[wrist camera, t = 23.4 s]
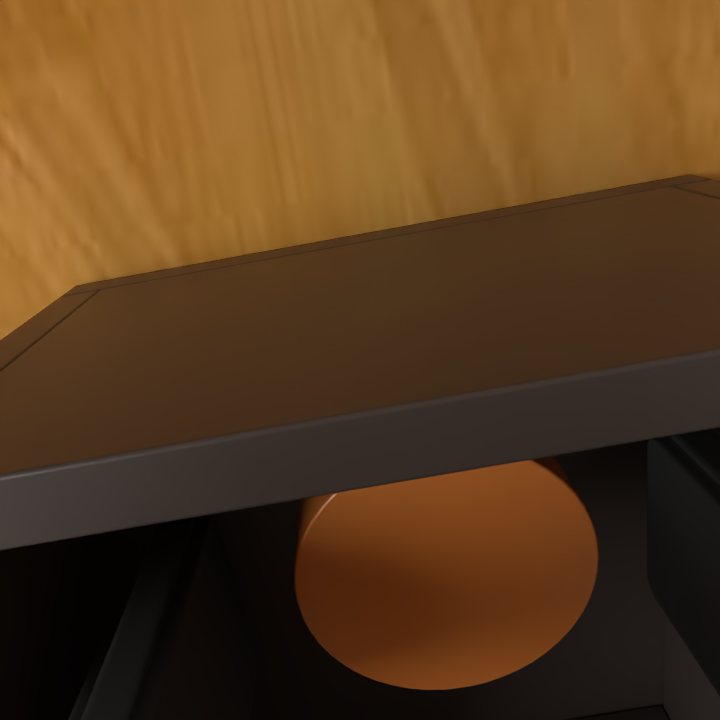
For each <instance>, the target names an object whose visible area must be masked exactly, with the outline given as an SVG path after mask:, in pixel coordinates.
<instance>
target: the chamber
mask: <svg viewBox="0 0 720 720" xmlns="http://www.w3.org/2000/svg"><path fill="white" fill-rule="evenodd" d="M708 429H711V430H712V431H713V432H714V433H716V434H717V435H718V436H719V437H720V181H715V180H711V179H709V178H704V177H699V176H694V175H684V176H679V177H673V178H668V179H662V180H657V181H651V182H646V183H640V184H635V185H629V186H624V187H618V188H613V189H607V190H602V191H596V192H591V193H585V194H580V195H574V196H569V197H563V198H558V199H552V200H547V201H541V202H536V203H530V204H525V205H519V206H514V207H508V208H503V209H497V210H492V211H486V212H480V213H475V214H469V215H464V216H458V217H453V218H447V219H442V220H436V221H431V222H425V223H420V224H414V225H409V226H403V227H398V228H392V229H387V230H381V231H376V232H370V233H365V234H359V235H354V236H348V237H343V238H337V239H332V240H326V241H321V242H315V243H310V244H304V245H299V246H293V247H287V248H282V249H276V250H271V251H265V252H260V253H254V254H249V255H243V256H238V257H232V258H227V259H221V260H216V261H210V262H205V263H199V264H194V265H188V266H183V267H177V268H172V269H166V270H161V271H155V272H150V273H144V274H139V275H133V276H128V277H122V278H117V279H111V280H106V281H100V282H94V283H89V284H83V285H78V286H75V287H74V288H73V289H71V290H70V291H68V292H67V293H66V294H64V295H63V296H61V297H60V298H59V299H57V300H56V301H54V302H53V303H52V304H50V305H49V306H48V307H46V308H45V309H43V310H42V311H41V312H39V313H38V314H36V315H35V316H34V317H32V318H31V319H30V320H28V321H27V322H25V323H24V324H23V325H21V326H20V327H18V328H17V329H16V330H14V331H13V332H12V333H10V334H9V335H7V336H6V337H5V338H3V339H2V340H0V720H68V719H69V717H70V714H71V712H72V710H73V707H74V705H75V702H76V700H77V698H78V695H79V693H80V690H81V688H82V686H83V683H84V681H85V679H86V676H87V674H88V671H89V669H90V667H91V664H92V662H93V659H94V657H95V655H96V652H97V650H98V648H99V645H100V643H101V640H102V638H103V636H104V633H105V631H106V628H107V626H108V624H109V622H110V620H111V618H112V616H113V615H114V613H115V612H117V611H118V610H119V609H124V608H125V607H126V605H127V602H128V600H129V597H130V595H131V592H132V590H133V587H134V585H135V582H136V580H137V577H138V575H139V572H140V570H141V567H142V565H143V562H144V560H145V557H146V555H147V552H148V550H149V547H150V545H151V542H152V540H153V537H154V535H155V532H156V530H157V527H158V525H159V523H164V522H169V521H175V520H181V519H187V518H193V517H199V516H204V515H205V517H209V516H214V517H215V518H216V520H217V522H218V525H219V528H220V531H221V534H222V537H223V541H224V544H225V547H226V550H227V553H228V556H229V559H230V562H231V566H232V569H233V572H234V575H235V578H236V581H237V584H238V588H239V591H240V594H241V597H242V600H243V603H244V606H245V609H246V613H247V616H248V619H249V622H250V625H251V628H252V631H253V634H254V638H255V641H256V646H257V660H258V661H257V672H256V680H255V688H254V696H253V703H252V711H251V719H250V720H720V696H719V695H718V693H717V692H716V690H715V689H714V687H713V686H712V684H711V683H710V681H709V679H708V678H707V676H706V675H705V673H704V672H703V670H702V669H701V667H700V666H699V664H698V663H697V661H696V660H695V658H694V657H693V655H692V654H691V652H690V651H689V649H688V648H687V646H686V645H685V643H684V641H683V640H682V638H681V637H680V635H679V634H678V632H677V631H676V629H675V628H674V626H673V625H672V623H671V622H670V620H669V619H668V617H667V616H666V614H665V613H664V611H663V610H662V608H661V607H660V605H659V603H658V602H657V600H656V599H655V597H654V595H653V593H652V591H651V589H650V586H649V582H648V578H647V446H648V442H649V440H651V439H655V438H661V437H667V436H673V435H678V434H684V433H690V432H696V431H702V430H708ZM550 456H554V457H555V458H556V460H557V461H558V463H559V464H560V466H561V468H562V469H563V471H564V472H565V474H566V476H567V477H568V479H569V480H570V482H571V484H572V485H573V487H574V488H575V490H576V491H577V493H578V495H579V496H580V498H581V499H582V501H583V503H584V504H585V506H586V508H587V510H588V512H589V514H590V516H591V518H592V520H593V523H594V527H595V530H596V534H597V539H598V547H599V564H598V573H597V578H596V583H595V587H594V589H593V592H592V595H591V597H590V600H589V602H588V604H587V606H586V608H585V609H584V611H583V613H582V615H581V616H580V618H579V619H578V620H577V622H576V623H575V625H574V626H573V627H572V629H571V630H570V631H569V632H568V633H567V634H566V635H565V636H564V637H563V638H562V639H561V641H560V642H558V643H557V644H556V645H555V646H554V647H553V648H551V649H550V650H549V651H548V652H547V653H545V654H544V655H542V656H541V657H539V658H538V659H537V660H535V661H534V662H532V663H530V664H529V665H527V666H525V667H523V668H521V669H519V670H517V671H515V672H513V673H511V674H508V675H506V676H504V677H501V678H499V679H496V680H492V681H489V682H486V683H483V684H478V685H474V686H469V687H464V688H456V689H447V690H422V689H409V688H404V687H398V686H393V685H389V684H386V683H382V682H379V681H375V680H373V679H371V678H368V677H366V676H363V675H361V674H359V673H357V672H355V671H353V670H352V669H350V668H348V667H346V666H345V665H343V664H342V663H341V662H339V661H338V660H337V659H335V658H334V657H332V656H331V655H330V654H329V653H328V652H327V651H326V650H325V649H324V648H323V647H322V646H321V645H320V644H319V642H318V641H317V640H316V639H315V637H314V636H313V635H312V633H311V632H310V630H309V628H308V627H307V625H306V623H305V621H304V619H303V618H302V615H301V612H300V610H299V607H298V604H297V600H296V595H295V589H294V561H295V548H296V536H297V523H298V510H299V499H304V498H310V497H316V496H322V495H327V494H333V493H339V492H345V491H351V490H357V489H362V488H368V487H374V486H380V485H386V484H392V483H398V482H403V481H409V480H415V479H421V478H427V477H433V476H439V475H444V474H450V473H456V472H462V471H468V470H474V469H479V468H485V467H491V466H497V465H503V464H509V463H515V462H520V461H526V460H532V459H538V458H544V457H550Z"/></svg>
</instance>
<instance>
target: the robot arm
mask: <svg viewBox="0 0 720 720" xmlns="http://www.w3.org/2000/svg"><path fill="white" fill-rule="evenodd" d="M647 578H648V582H649V586H650V589H651V591H652V593H653V595H654V597H655V599H656V600H657V602H658V603H659V605H660V607H661V608H662V610H663V611H664V613H665V614H666V616H667V617H668V619H669V620H670V622H671V623H672V625H673V626H674V628H675V629H676V631H677V632H678V634H679V635H680V637H681V638H682V640H683V641H684V643H685V645H686V646H687V648H688V649H689V651H690V652H691V654H692V655H693V657H694V658H695V660H696V661H697V663H698V664H699V666H700V667H701V669H702V670H703V672H704V673H705V675H706V676H707V678H708V679H709V681H710V683H711V684H712V686H713V687H714V689H715V690H716V692H717V693H718V695H719V696H720V437H719V436H718V435H717V434H716V433H714V432H713V431H712V430H711V429H708V430H702V431H696V432H690V433H684V434H678V435H673V436H667V437H661V438H655V439H651V440H649V442H648V446H647ZM257 661H258V660H257V646H256V641H255V638H254V634H253V631H252V628H251V625H250V622H249V619H248V616H247V613H246V609H245V606H244V603H243V600H242V597H241V594H240V591H239V588H238V584H237V581H236V578H235V575H234V572H233V569H232V566H231V562H230V559H229V556H228V553H227V550H226V547H225V544H224V541H223V537H222V534H221V531H220V528H219V525H218V522H217V520H216V518H215V517H214V516H209V517H205V515H204V516H199V517H193V518H187V519H181V520H175V521H169V522H164V523H159V525H158V527H157V530H156V532H155V535H154V537H153V540H152V542H151V545H150V547H149V550H148V552H147V555H146V557H145V560H144V562H143V565H142V567H141V570H140V572H139V575H138V577H137V580H136V582H135V585H134V587H133V590H132V592H131V595H130V597H129V600H128V602H127V605H126V607H125V608H124V609H119V610H118V611H117V612H115V613H114V615H113V616H112V618H111V620H110V622H109V624H108V626H107V628H106V631H105V633H104V636H103V638H102V640H101V643H100V645H99V648H98V650H97V652H96V655H95V657H94V659H93V662H92V664H91V667H90V669H89V671H88V674H87V676H86V679H85V681H84V683H83V686H82V688H81V690H80V693H79V695H78V698H77V700H76V702H75V705H74V707H73V710H72V712H71V714H70V717H69V719H68V720H250V719H251V711H252V703H253V696H254V688H255V680H256V672H257Z"/></svg>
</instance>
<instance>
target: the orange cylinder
mask: <svg viewBox="0 0 720 720" xmlns="http://www.w3.org/2000/svg"><path fill="white" fill-rule="evenodd" d="M598 564H599V547H598V539H597V534H596V530H595V527H594V523H593V520H592V518H591V516H590V514H589V512H588V510H587V508H586V506H585V504H584V503H583V501H582V499H581V498H580V496H579V495H578V493H577V491H576V490H575V488H574V487H573V485H572V484H571V482H570V480H569V479H568V477H567V476H566V474H565V472H564V471H563V469H562V468H561V466H560V464H559V463H558V461H557V460H556V458H555V457H554V456H550V457H544V458H538V459H532V460H526V461H520V462H515V463H509V464H503V465H497V466H491V467H485V468H479V469H474V470H468V471H462V472H456V473H450V474H444V475H439V476H433V477H427V478H421V479H415V480H409V481H403V482H398V483H392V484H386V485H380V486H374V487H368V488H362V489H357V490H351V491H345V492H339V493H333V494H327V495H322V496H316V497H310V498H304V499H299V510H298V523H297V536H296V548H295V561H294V589H295V595H296V600H297V604H298V607H299V610H300V612H301V615H302V618H303V619H304V621H305V623H306V625H307V627H308V628H309V630H310V632H311V633H312V635H313V636H314V637H315V639H316V640H317V641H318V642H319V644H320V645H321V646H322V647H323V648H324V649H325V650H326V651H327V652H328V653H329V654H330V655H331V656H332V657H334V658H335V659H337V660H338V661H339V662H341V663H342V664H343V665H345V666H346V667H348V668H350V669H352V670H353V671H355V672H357V673H359V674H361V675H363V676H366V677H368V678H371V679H373V680H375V681H379V682H382V683H386V684H389V685H393V686H398V687H404V688H409V689H422V690H447V689H456V688H464V687H469V686H474V685H478V684H483V683H486V682H489V681H492V680H496V679H499V678H501V677H504V676H506V675H508V674H511V673H513V672H515V671H517V670H519V669H521V668H523V667H525V666H527V665H529V664H530V663H532V662H534V661H535V660H537V659H538V658H539V657H541V656H542V655H544V654H545V653H547V652H548V651H549V650H550V649H551V648H553V647H554V646H555V645H556V644H557V643H558V642H560V641H561V639H562V638H563V637H564V636H565V635H566V634H567V633H568V632H569V631H570V630H571V629H572V627H573V626H574V625H575V623H576V622H577V620H578V619H579V618H580V616H581V615H582V613H583V611H584V609H585V608H586V606H587V604H588V602H589V600H590V597H591V595H592V592H593V589H594V587H595V583H596V578H597V573H598Z"/></svg>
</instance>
